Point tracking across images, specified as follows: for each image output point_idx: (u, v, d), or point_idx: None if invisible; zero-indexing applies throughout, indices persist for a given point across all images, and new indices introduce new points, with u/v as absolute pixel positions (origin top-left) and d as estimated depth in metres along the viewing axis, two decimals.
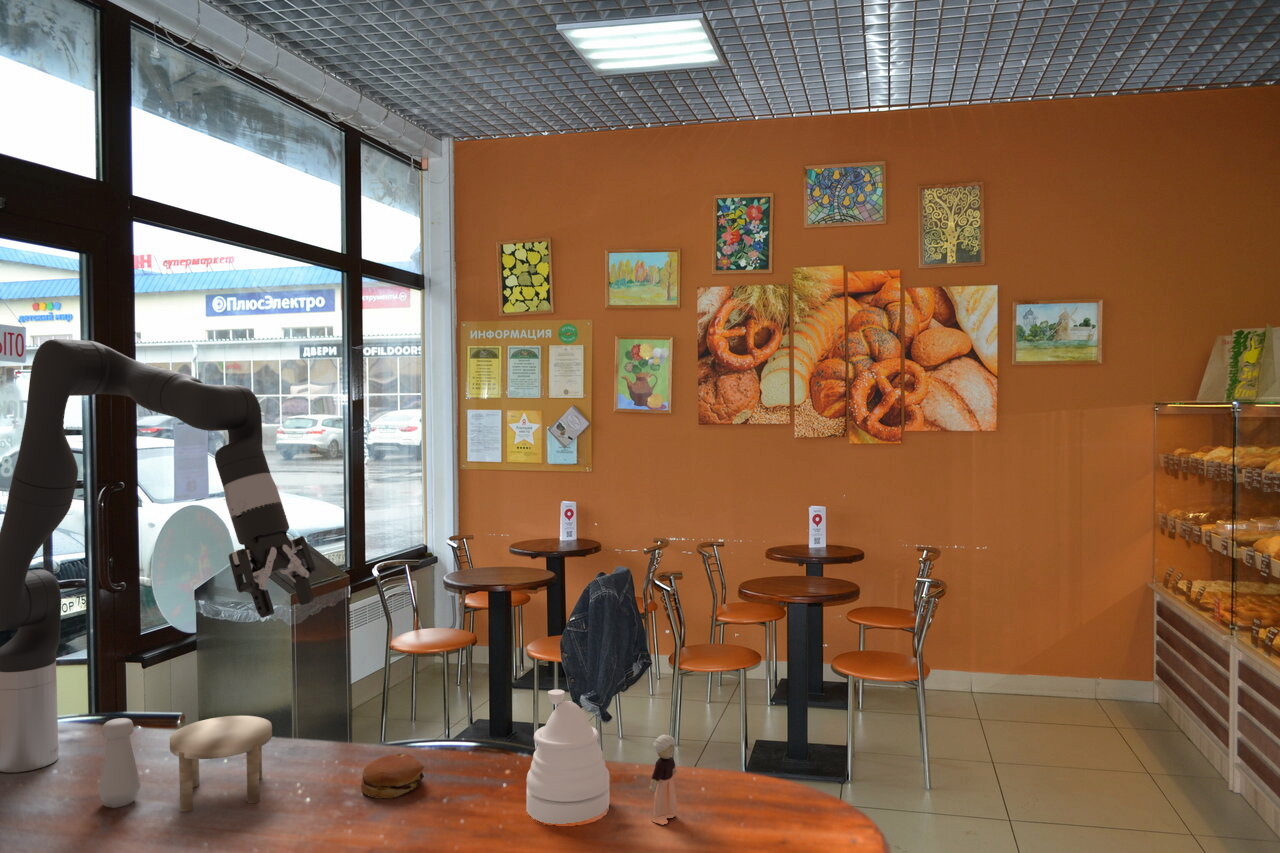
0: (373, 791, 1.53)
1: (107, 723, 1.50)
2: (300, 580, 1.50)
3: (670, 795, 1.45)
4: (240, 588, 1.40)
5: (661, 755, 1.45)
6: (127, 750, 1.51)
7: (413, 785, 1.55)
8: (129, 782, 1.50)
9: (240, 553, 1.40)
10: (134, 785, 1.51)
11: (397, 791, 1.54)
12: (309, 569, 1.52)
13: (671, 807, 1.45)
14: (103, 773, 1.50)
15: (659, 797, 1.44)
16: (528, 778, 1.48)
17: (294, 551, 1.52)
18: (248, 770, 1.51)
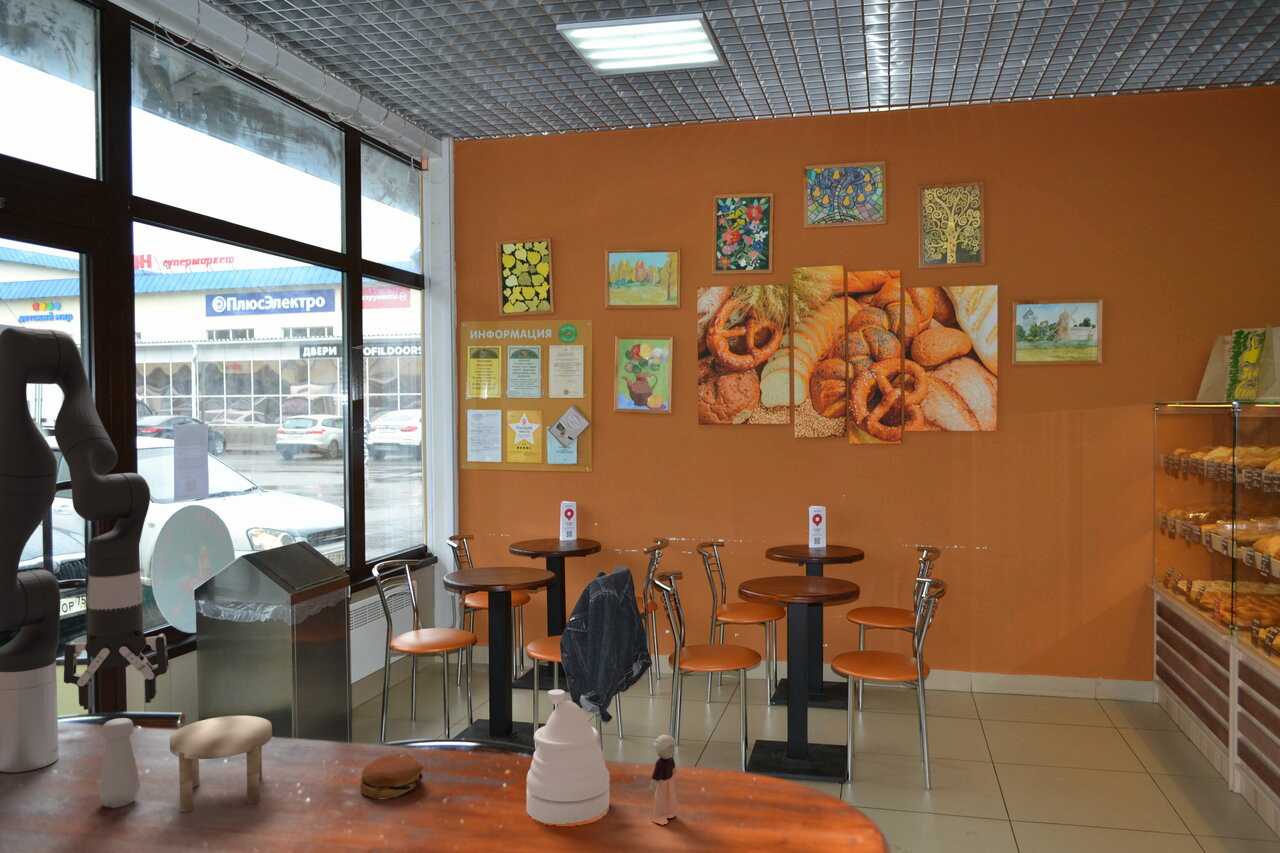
0: (372, 791, 1.53)
1: (107, 723, 1.50)
2: (146, 678, 1.52)
3: (670, 795, 1.45)
4: None
5: (661, 755, 1.45)
6: (127, 750, 1.51)
7: (412, 785, 1.55)
8: (129, 782, 1.50)
9: (65, 648, 1.48)
10: (135, 785, 1.51)
11: (396, 791, 1.53)
12: (158, 670, 1.52)
13: (671, 807, 1.45)
14: (103, 773, 1.50)
15: (659, 797, 1.44)
16: (528, 778, 1.48)
17: (152, 648, 1.53)
18: (248, 770, 1.51)
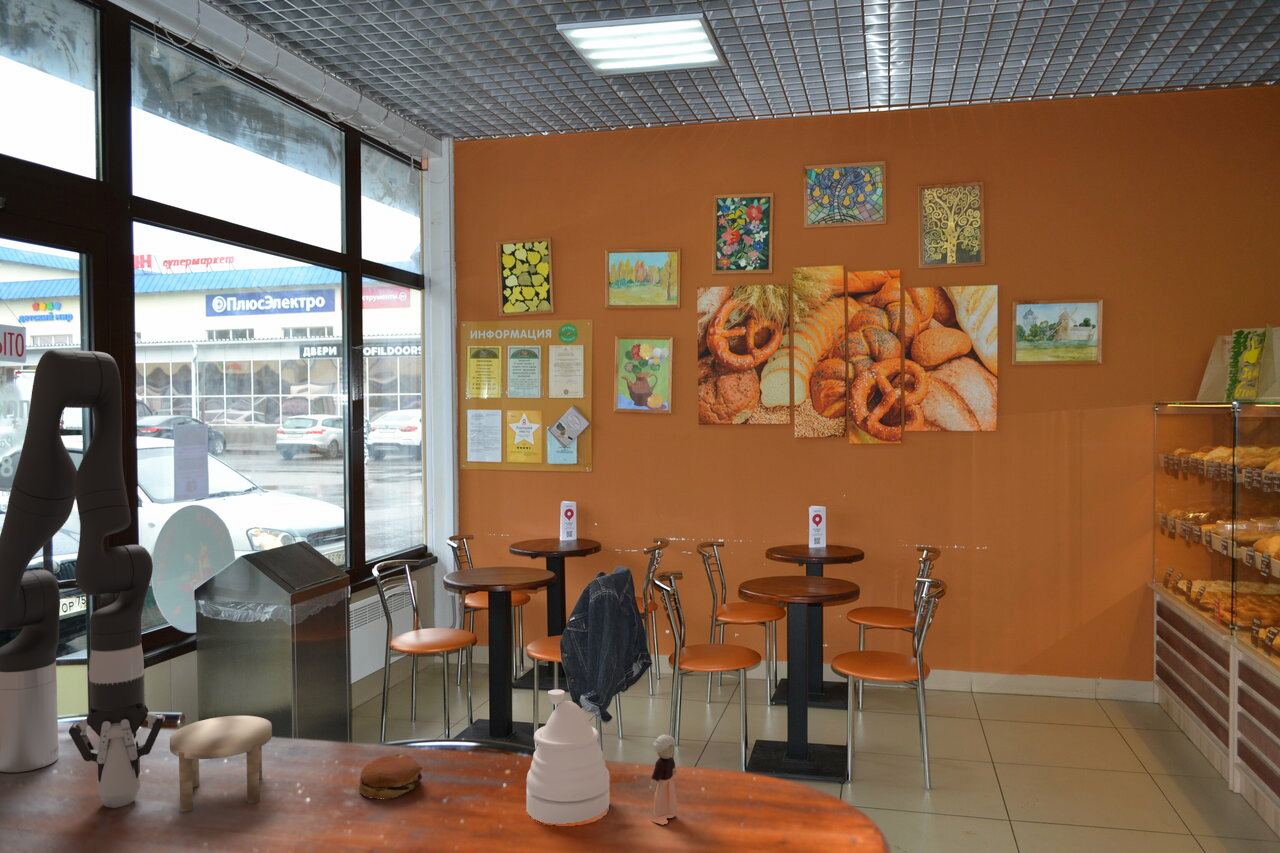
0: (371, 791, 1.53)
1: None
2: None
3: (670, 795, 1.45)
4: None
5: (661, 755, 1.45)
6: (127, 750, 1.51)
7: (411, 786, 1.55)
8: (129, 782, 1.50)
9: (69, 733, 1.48)
10: (134, 784, 1.51)
11: (395, 792, 1.53)
12: (142, 749, 1.52)
13: (671, 807, 1.45)
14: (103, 773, 1.50)
15: (659, 797, 1.44)
16: (528, 778, 1.48)
17: (148, 725, 1.53)
18: (248, 770, 1.51)
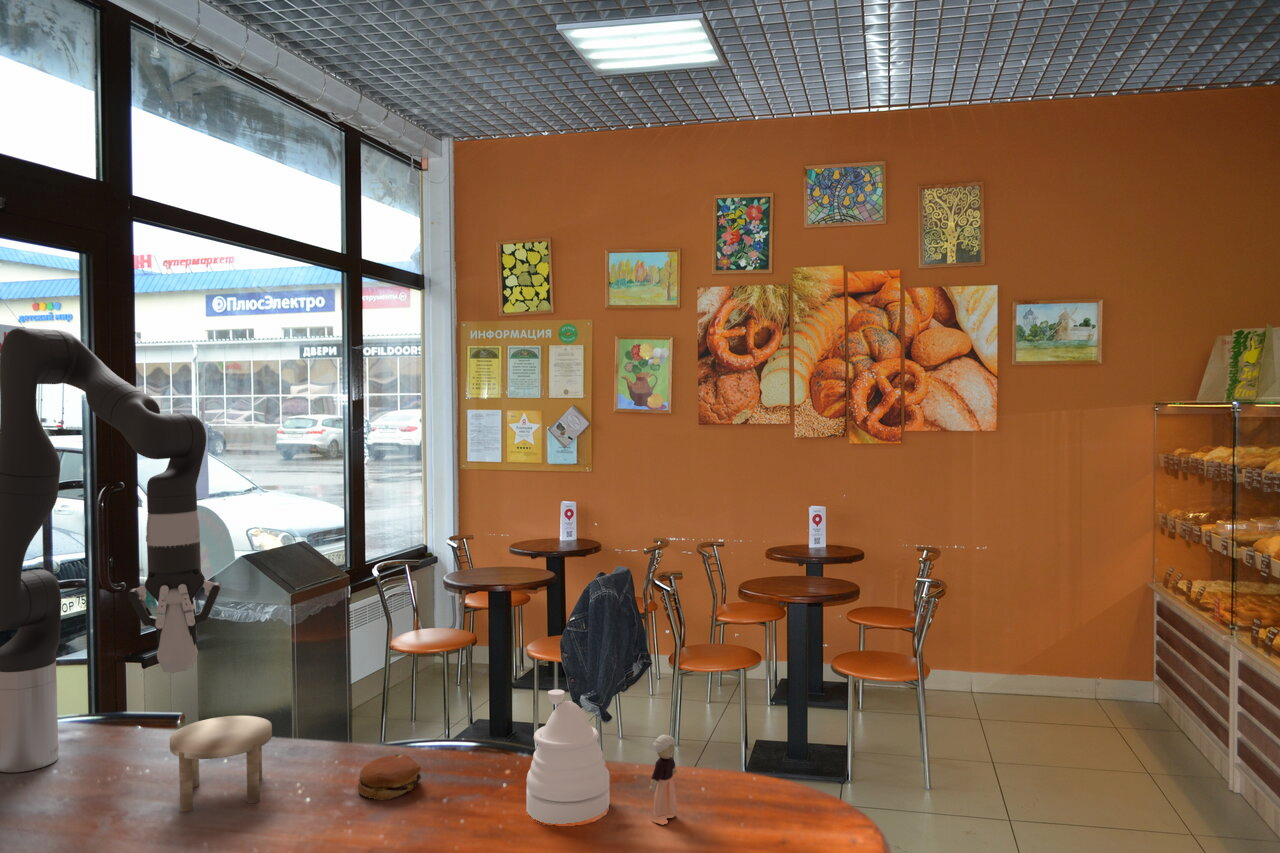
0: (370, 792, 1.53)
1: None
2: None
3: (670, 795, 1.45)
4: None
5: (661, 755, 1.45)
6: None
7: (410, 786, 1.55)
8: (187, 647, 1.51)
9: (128, 597, 1.49)
10: (192, 651, 1.52)
11: (394, 792, 1.53)
12: (199, 615, 1.53)
13: (671, 807, 1.45)
14: (161, 638, 1.51)
15: (659, 797, 1.44)
16: (528, 778, 1.48)
17: (204, 592, 1.53)
18: (248, 770, 1.51)
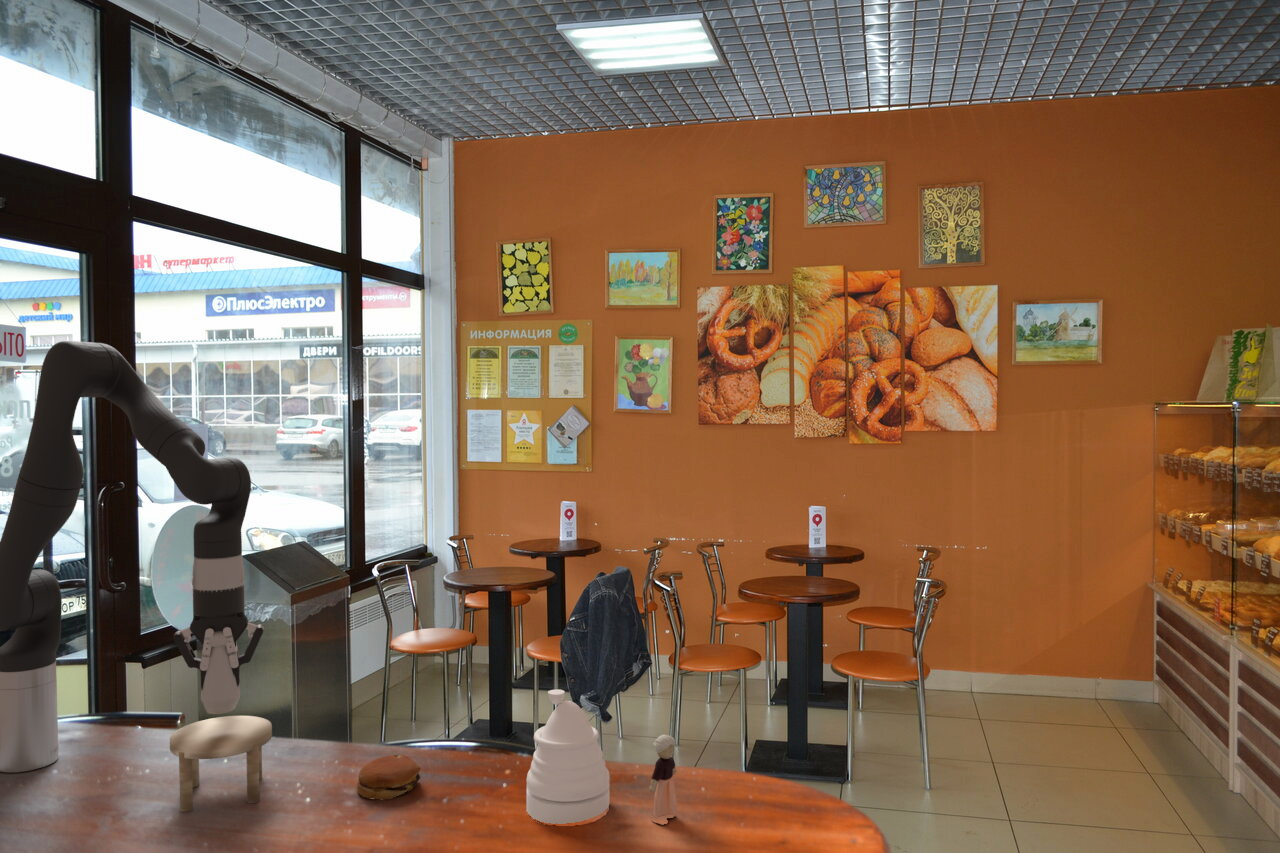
0: (369, 792, 1.53)
1: None
2: None
3: (670, 795, 1.45)
4: None
5: (661, 755, 1.45)
6: None
7: (409, 786, 1.55)
8: (230, 689, 1.53)
9: (174, 639, 1.51)
10: (236, 692, 1.54)
11: (393, 792, 1.53)
12: (243, 657, 1.55)
13: (671, 807, 1.45)
14: (206, 680, 1.53)
15: (659, 797, 1.44)
16: (528, 778, 1.48)
17: (248, 634, 1.56)
18: (248, 770, 1.51)
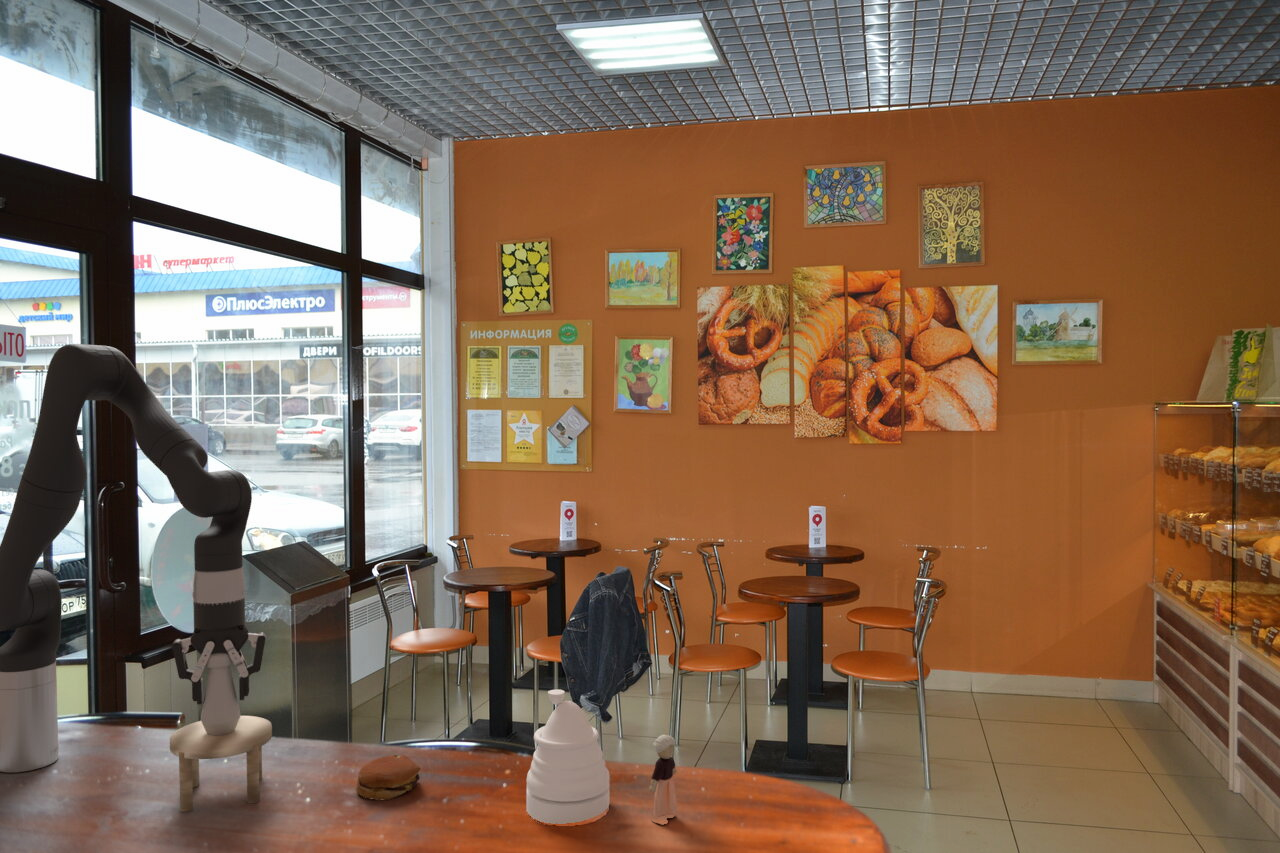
0: (368, 792, 1.53)
1: None
2: (240, 676, 1.55)
3: (670, 795, 1.45)
4: None
5: (661, 755, 1.45)
6: (229, 680, 1.54)
7: (409, 787, 1.55)
8: (230, 711, 1.53)
9: (172, 647, 1.51)
10: (235, 714, 1.54)
11: (393, 793, 1.53)
12: (252, 668, 1.55)
13: (671, 807, 1.45)
14: (206, 702, 1.53)
15: (659, 797, 1.44)
16: (528, 778, 1.48)
17: None
18: (248, 770, 1.51)
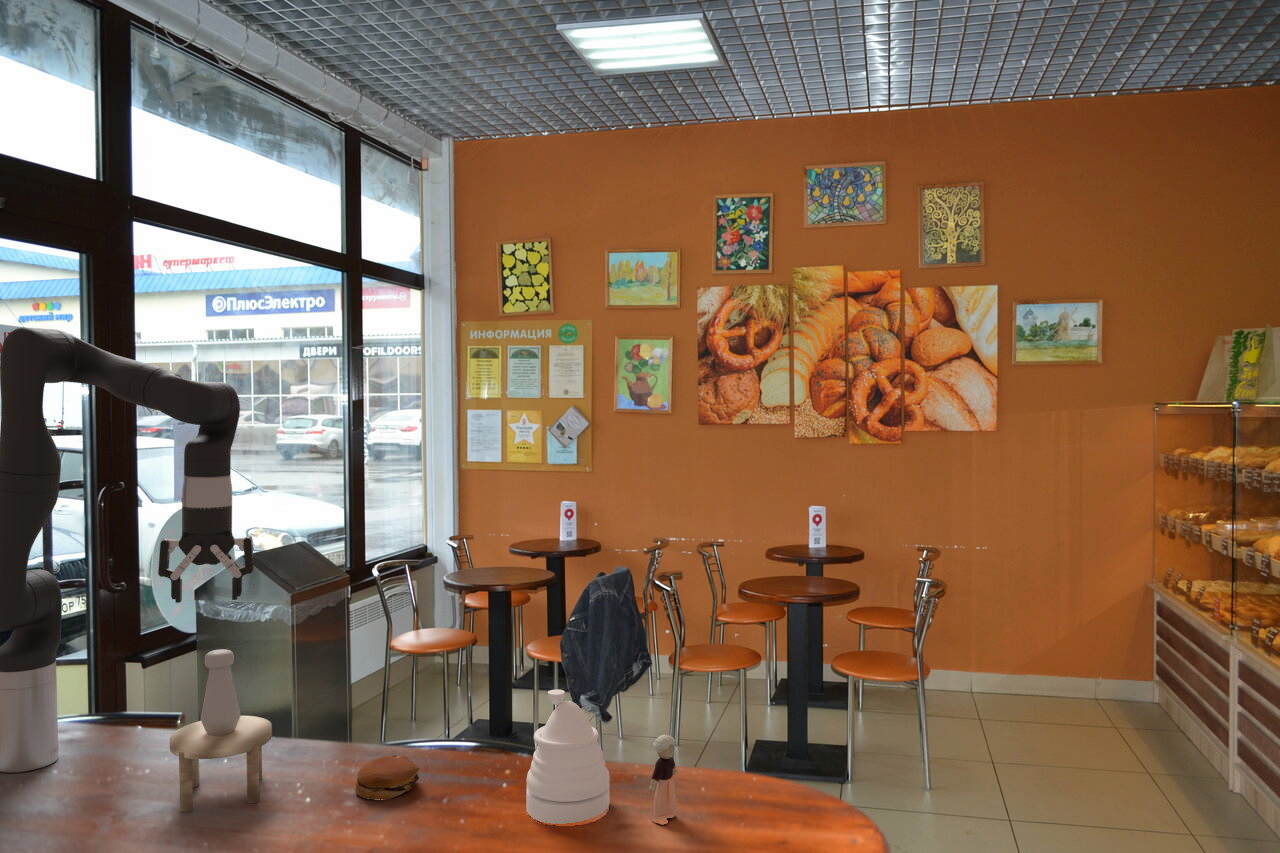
0: (367, 792, 1.53)
1: (209, 653, 1.53)
2: (233, 577, 1.61)
3: (670, 795, 1.45)
4: None
5: (661, 755, 1.45)
6: (229, 680, 1.54)
7: (408, 787, 1.55)
8: (230, 711, 1.53)
9: (160, 544, 1.56)
10: (236, 714, 1.54)
11: (392, 793, 1.53)
12: (245, 570, 1.61)
13: (671, 807, 1.45)
14: (206, 702, 1.53)
15: (659, 797, 1.44)
16: (528, 778, 1.48)
17: None
18: (248, 770, 1.51)
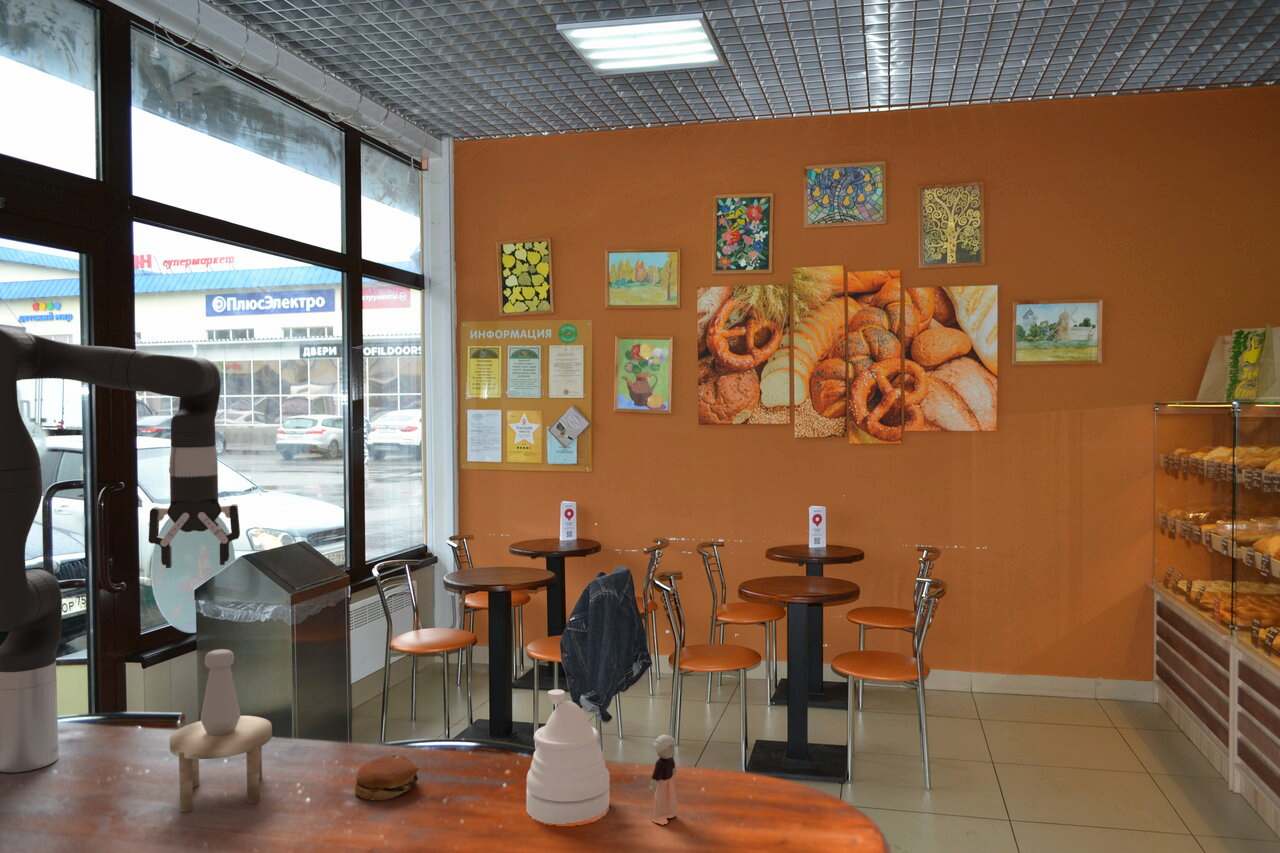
0: (366, 792, 1.53)
1: (209, 653, 1.53)
2: (220, 543, 1.69)
3: (670, 795, 1.45)
4: None
5: (661, 755, 1.45)
6: (229, 680, 1.54)
7: (407, 787, 1.55)
8: (230, 711, 1.53)
9: (150, 512, 1.64)
10: (236, 714, 1.54)
11: (391, 793, 1.53)
12: (231, 536, 1.69)
13: (671, 807, 1.45)
14: (206, 702, 1.53)
15: (659, 797, 1.44)
16: (528, 778, 1.48)
17: (226, 516, 1.69)
18: (248, 770, 1.51)
